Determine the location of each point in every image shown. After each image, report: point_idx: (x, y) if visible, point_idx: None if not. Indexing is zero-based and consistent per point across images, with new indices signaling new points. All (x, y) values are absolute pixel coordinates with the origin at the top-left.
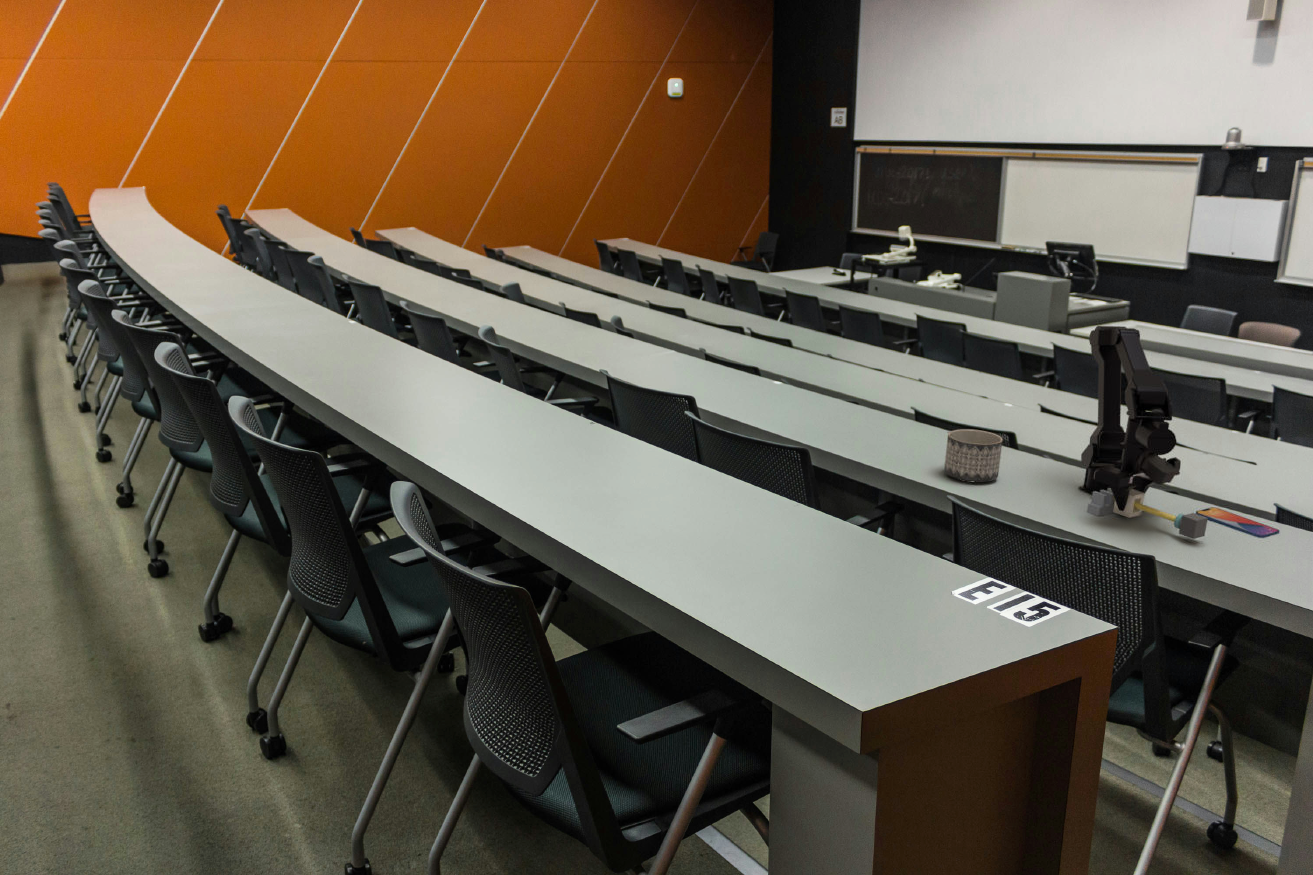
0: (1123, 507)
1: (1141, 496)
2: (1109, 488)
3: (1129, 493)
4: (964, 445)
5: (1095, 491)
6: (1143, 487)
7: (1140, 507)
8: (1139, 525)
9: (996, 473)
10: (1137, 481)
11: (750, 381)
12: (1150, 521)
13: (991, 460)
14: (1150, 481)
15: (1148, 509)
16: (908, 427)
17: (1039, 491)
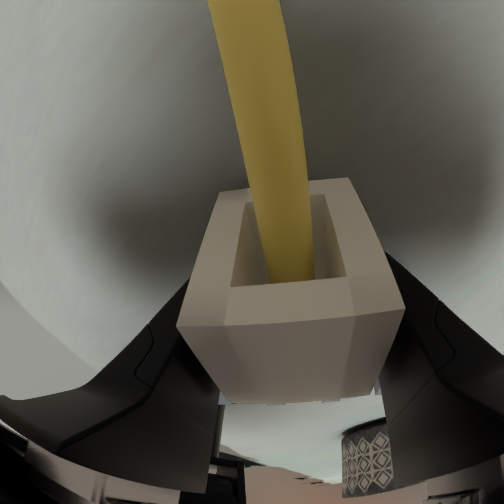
0: (383, 250)
1: (234, 299)
2: (274, 403)
3: (351, 355)
4: None
5: (380, 393)
6: (160, 392)
7: (307, 180)
8: (320, 98)
9: (379, 435)
10: (183, 448)
11: (320, 475)
12: (188, 133)
13: None
14: (89, 454)
15: (294, 91)
16: (289, 464)
17: (347, 401)
